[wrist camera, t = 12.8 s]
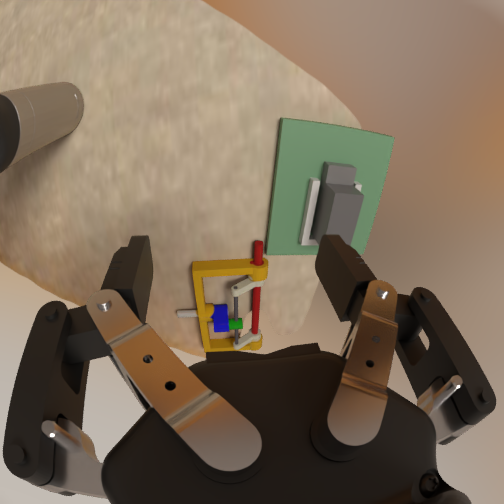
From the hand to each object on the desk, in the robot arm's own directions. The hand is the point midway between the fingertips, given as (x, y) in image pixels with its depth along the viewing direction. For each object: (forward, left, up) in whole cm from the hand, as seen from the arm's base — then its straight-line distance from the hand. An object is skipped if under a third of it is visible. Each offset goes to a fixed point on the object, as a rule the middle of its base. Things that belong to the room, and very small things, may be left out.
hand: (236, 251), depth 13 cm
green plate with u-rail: (+19, -9, -32) cm, 38 cm away
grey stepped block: (+19, -10, -30) cm, 37 cm away
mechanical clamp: (+1, -34, -33) cm, 47 cm away
